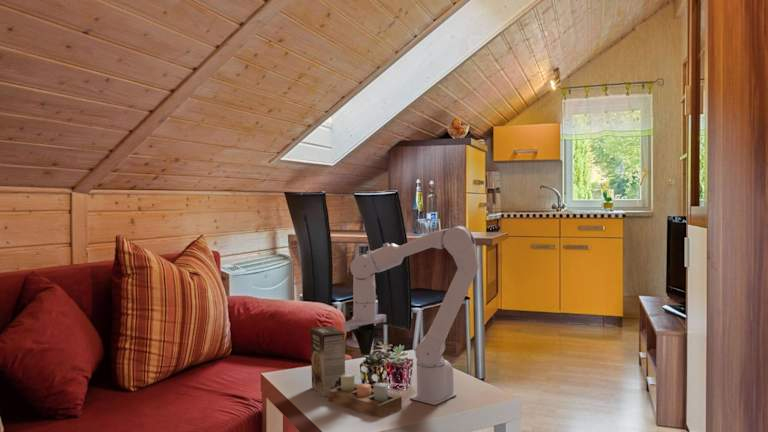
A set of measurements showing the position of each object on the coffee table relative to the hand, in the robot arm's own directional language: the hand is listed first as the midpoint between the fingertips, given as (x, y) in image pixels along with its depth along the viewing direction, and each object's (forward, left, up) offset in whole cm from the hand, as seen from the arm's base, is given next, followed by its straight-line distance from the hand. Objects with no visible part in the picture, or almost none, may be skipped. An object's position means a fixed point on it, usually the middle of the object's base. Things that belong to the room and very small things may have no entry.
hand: (365, 354), depth 151 cm
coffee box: (+4, -10, -11) cm, 15 cm away
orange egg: (+6, +5, -10) cm, 12 cm away
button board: (+6, +5, -10) cm, 13 cm away
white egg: (+6, +11, -8) cm, 15 cm away
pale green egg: (+6, -1, -8) cm, 10 cm away
